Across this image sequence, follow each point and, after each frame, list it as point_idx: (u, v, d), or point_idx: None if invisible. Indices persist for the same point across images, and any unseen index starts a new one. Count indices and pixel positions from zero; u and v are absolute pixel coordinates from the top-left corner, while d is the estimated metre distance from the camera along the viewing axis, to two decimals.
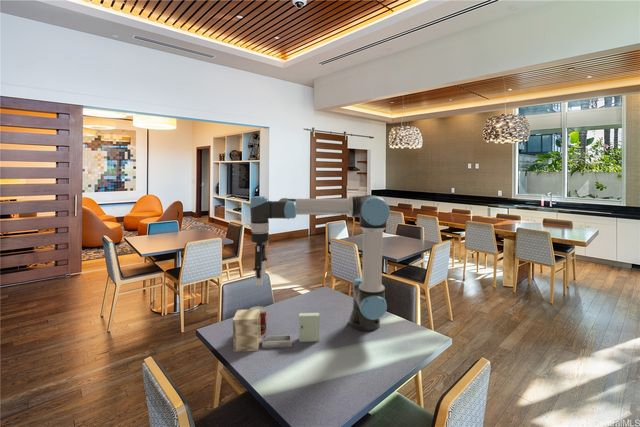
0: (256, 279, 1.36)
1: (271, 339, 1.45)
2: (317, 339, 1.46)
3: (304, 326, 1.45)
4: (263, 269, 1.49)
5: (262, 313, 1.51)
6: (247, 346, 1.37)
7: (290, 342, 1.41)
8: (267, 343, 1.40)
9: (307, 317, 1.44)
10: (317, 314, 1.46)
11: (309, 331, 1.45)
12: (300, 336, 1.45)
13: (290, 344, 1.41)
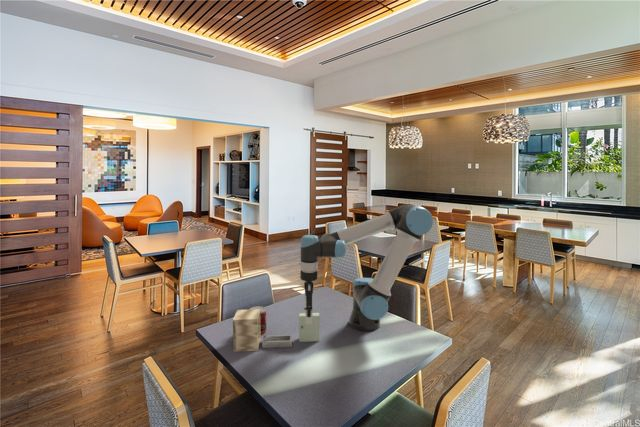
0: (306, 318, 1.38)
1: (271, 339, 1.45)
2: (317, 339, 1.46)
3: (304, 326, 1.45)
4: None
5: (262, 313, 1.51)
6: (247, 346, 1.37)
7: (290, 342, 1.41)
8: (267, 343, 1.40)
9: None
10: (317, 314, 1.46)
11: (309, 331, 1.45)
12: (300, 336, 1.45)
13: (290, 344, 1.41)
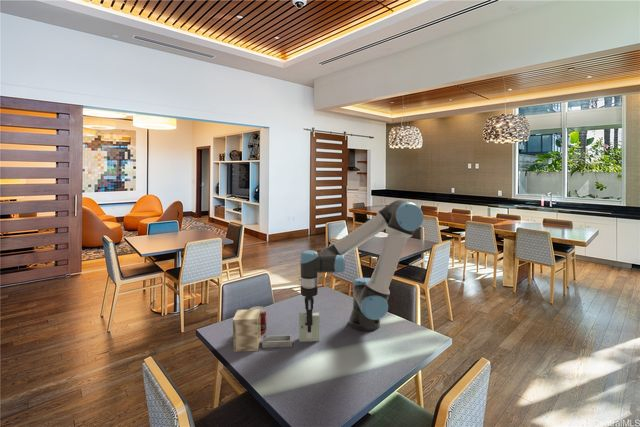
0: (307, 333, 1.44)
1: (271, 339, 1.45)
2: (317, 339, 1.46)
3: (304, 326, 1.45)
4: None
5: (262, 313, 1.51)
6: (247, 346, 1.37)
7: (290, 342, 1.41)
8: (267, 343, 1.40)
9: None
10: (317, 314, 1.46)
11: None
12: (300, 336, 1.45)
13: (290, 344, 1.41)
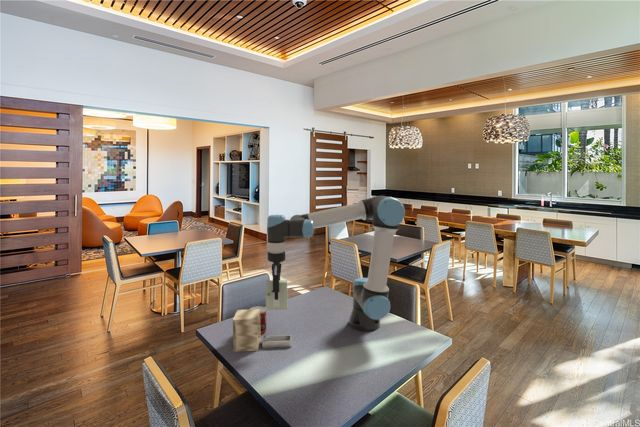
0: (274, 300, 1.38)
1: (271, 339, 1.45)
2: (285, 307, 1.40)
3: (271, 294, 1.39)
4: None
5: (262, 313, 1.51)
6: (247, 346, 1.37)
7: (290, 342, 1.41)
8: (267, 343, 1.40)
9: None
10: (285, 281, 1.40)
11: None
12: (267, 304, 1.39)
13: (290, 344, 1.41)
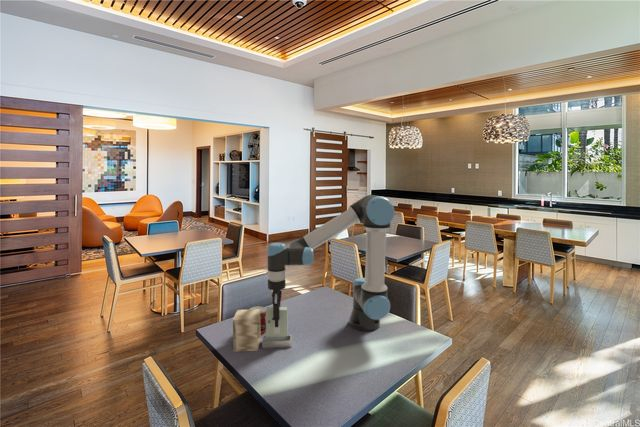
0: (274, 327, 1.40)
1: (271, 339, 1.45)
2: (285, 334, 1.41)
3: (272, 321, 1.40)
4: None
5: (262, 313, 1.51)
6: (247, 346, 1.37)
7: (290, 342, 1.41)
8: (267, 343, 1.40)
9: None
10: (285, 308, 1.41)
11: None
12: (267, 331, 1.41)
13: (290, 344, 1.41)
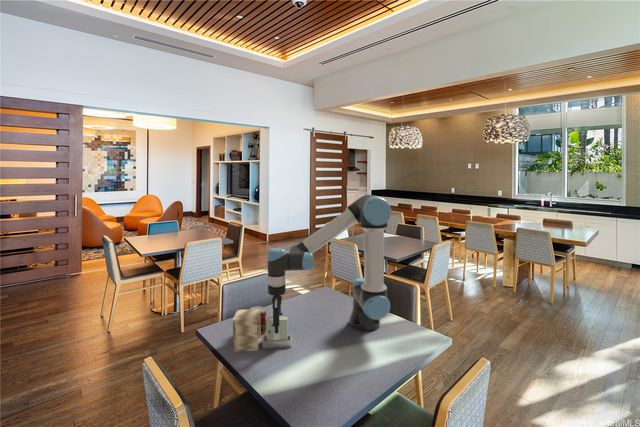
0: (274, 334, 1.38)
1: None
2: None
3: (272, 331, 1.41)
4: None
5: (262, 313, 1.51)
6: (247, 346, 1.37)
7: (290, 342, 1.41)
8: (267, 343, 1.40)
9: None
10: (285, 318, 1.41)
11: None
12: (268, 340, 1.41)
13: (290, 344, 1.41)
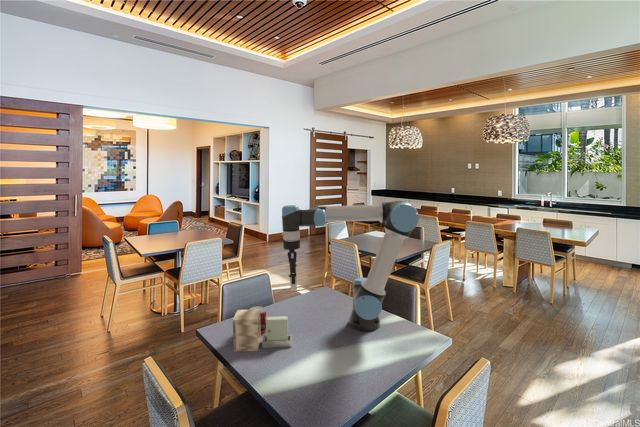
0: (291, 285, 1.41)
1: None
2: None
3: (272, 330, 1.41)
4: None
5: (262, 313, 1.51)
6: (247, 346, 1.37)
7: (290, 342, 1.41)
8: (267, 343, 1.40)
9: (275, 321, 1.40)
10: (285, 318, 1.42)
11: (277, 335, 1.41)
12: (268, 340, 1.41)
13: (290, 344, 1.41)
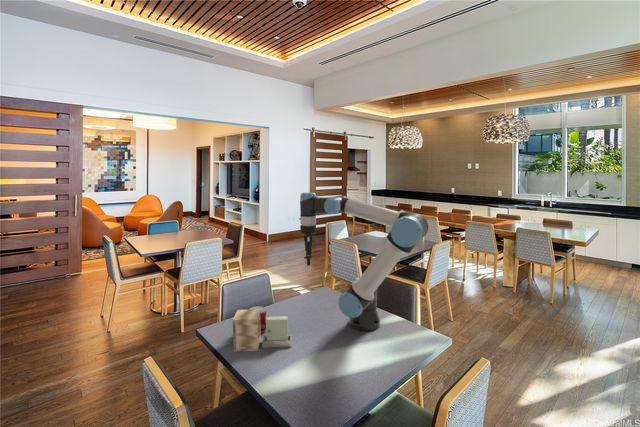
0: (306, 266, 1.52)
1: None
2: None
3: (272, 330, 1.41)
4: None
5: (262, 313, 1.51)
6: (247, 346, 1.37)
7: (290, 342, 1.41)
8: (267, 343, 1.40)
9: (275, 321, 1.40)
10: (285, 318, 1.42)
11: (277, 335, 1.41)
12: (268, 340, 1.41)
13: (290, 344, 1.41)
